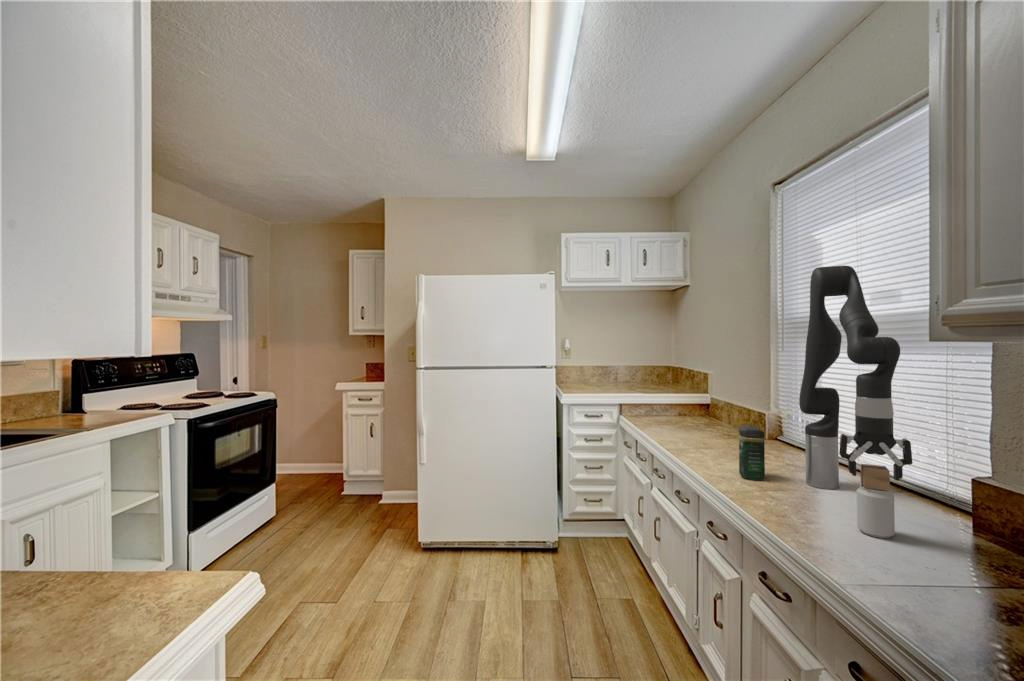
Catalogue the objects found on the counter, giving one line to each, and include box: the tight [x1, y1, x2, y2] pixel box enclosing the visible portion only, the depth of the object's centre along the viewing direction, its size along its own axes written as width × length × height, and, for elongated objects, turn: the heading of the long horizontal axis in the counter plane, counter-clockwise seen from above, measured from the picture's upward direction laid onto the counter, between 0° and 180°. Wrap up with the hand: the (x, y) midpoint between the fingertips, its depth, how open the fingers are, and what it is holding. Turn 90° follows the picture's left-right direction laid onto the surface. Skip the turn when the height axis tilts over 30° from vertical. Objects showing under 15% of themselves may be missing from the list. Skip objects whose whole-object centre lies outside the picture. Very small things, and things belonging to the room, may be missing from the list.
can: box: [856, 483, 896, 539], centre depth 112 cm, size 8×8×12 cm
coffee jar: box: [738, 424, 766, 481], centre depth 159 cm, size 10×8×19 cm
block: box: [860, 463, 891, 492], centre depth 112 cm, size 5×5×5 cm
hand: (874, 477), depth 112 cm, fingers open, 8 cm apart
